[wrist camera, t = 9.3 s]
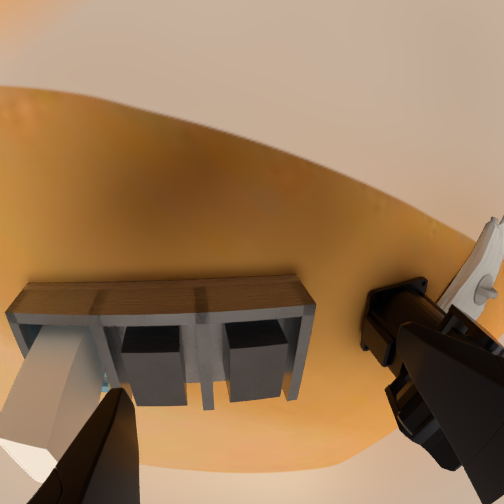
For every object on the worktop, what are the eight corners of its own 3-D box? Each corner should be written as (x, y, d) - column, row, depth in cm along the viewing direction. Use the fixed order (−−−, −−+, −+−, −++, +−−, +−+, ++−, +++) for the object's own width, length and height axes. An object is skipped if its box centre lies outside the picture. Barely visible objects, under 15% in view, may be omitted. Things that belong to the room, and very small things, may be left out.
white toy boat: (405, 376, 31) (423, 400, 27) (377, 364, 29) (397, 392, 25) (514, 224, 26) (540, 236, 22) (499, 190, 24) (530, 202, 20)
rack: (295, 274, 22) (322, 313, 17) (282, 371, 25) (299, 413, 21) (27, 283, 18) (-2, 321, 13) (62, 377, 21) (49, 419, 17)
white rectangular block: (90, 315, 19) (46, 449, 9) (106, 367, 20) (85, 491, 11) (49, 314, 18) (-8, 435, 8) (68, 365, 20) (35, 481, 10)
